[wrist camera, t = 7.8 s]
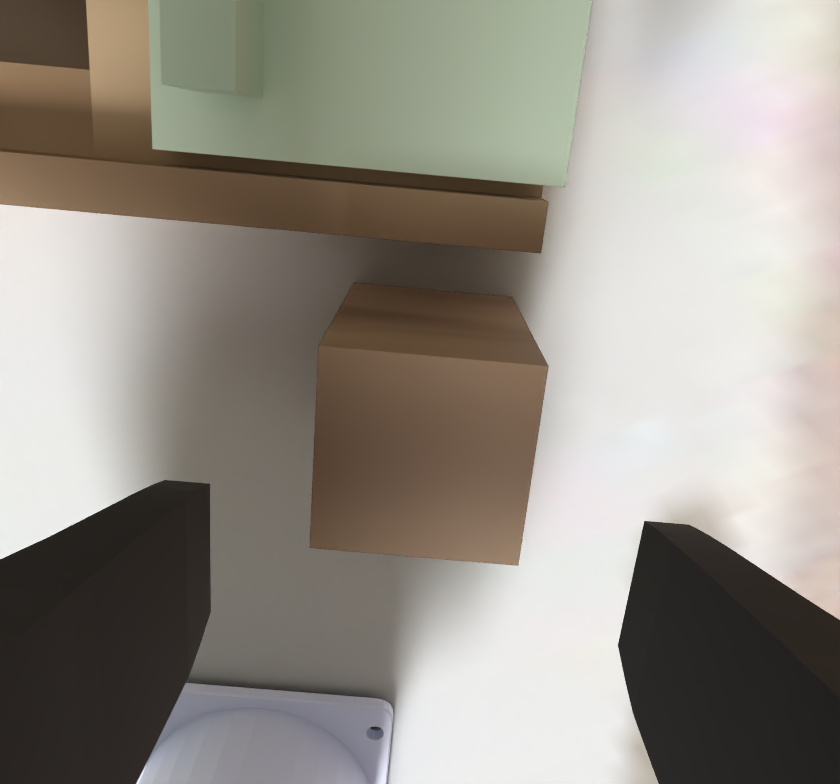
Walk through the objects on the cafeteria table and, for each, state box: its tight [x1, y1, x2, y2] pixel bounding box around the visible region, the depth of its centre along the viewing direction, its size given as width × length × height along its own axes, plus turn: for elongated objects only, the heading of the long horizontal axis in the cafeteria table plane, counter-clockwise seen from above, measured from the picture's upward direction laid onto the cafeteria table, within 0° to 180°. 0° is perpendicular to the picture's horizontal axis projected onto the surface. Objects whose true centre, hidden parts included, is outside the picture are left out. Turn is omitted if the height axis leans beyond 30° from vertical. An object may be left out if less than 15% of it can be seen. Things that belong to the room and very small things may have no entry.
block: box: [310, 283, 548, 566], centre depth 16 cm, size 4×4×6 cm
